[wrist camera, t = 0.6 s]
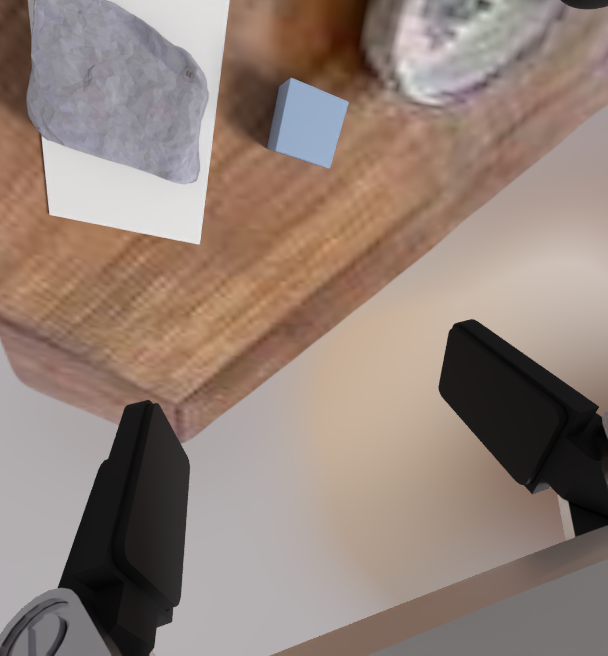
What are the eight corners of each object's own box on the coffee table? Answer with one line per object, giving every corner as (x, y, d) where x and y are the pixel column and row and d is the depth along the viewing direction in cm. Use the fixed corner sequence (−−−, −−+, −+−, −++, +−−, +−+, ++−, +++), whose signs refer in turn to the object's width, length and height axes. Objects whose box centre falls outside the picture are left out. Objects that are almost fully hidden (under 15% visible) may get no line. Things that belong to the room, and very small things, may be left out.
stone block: (49, -4, 22) (43, 144, 25) (17, -54, 18) (14, 131, 21) (215, 74, 27) (196, 191, 30) (221, 49, 23) (197, 188, 25)
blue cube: (279, 86, 27) (290, 77, 23) (329, 106, 29) (348, 102, 25) (267, 148, 29) (275, 150, 25) (314, 164, 31) (329, 168, 27)
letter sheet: (12, -167, 18) (10, -170, 18) (235, -47, 22) (235, -49, 22) (50, 214, 28) (49, 214, 28) (199, 244, 32) (199, 244, 32)
